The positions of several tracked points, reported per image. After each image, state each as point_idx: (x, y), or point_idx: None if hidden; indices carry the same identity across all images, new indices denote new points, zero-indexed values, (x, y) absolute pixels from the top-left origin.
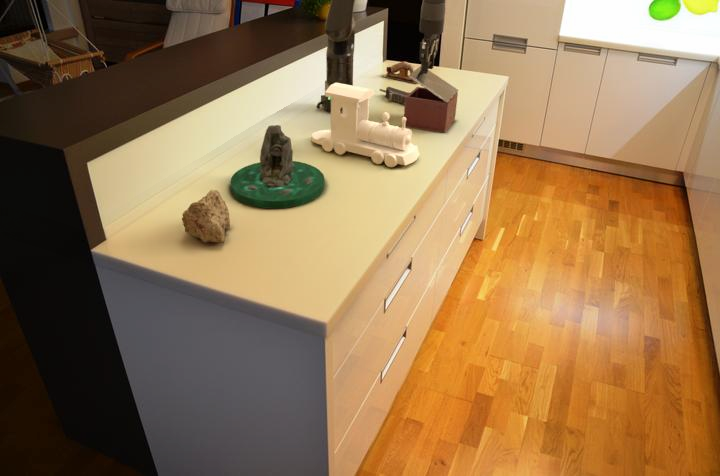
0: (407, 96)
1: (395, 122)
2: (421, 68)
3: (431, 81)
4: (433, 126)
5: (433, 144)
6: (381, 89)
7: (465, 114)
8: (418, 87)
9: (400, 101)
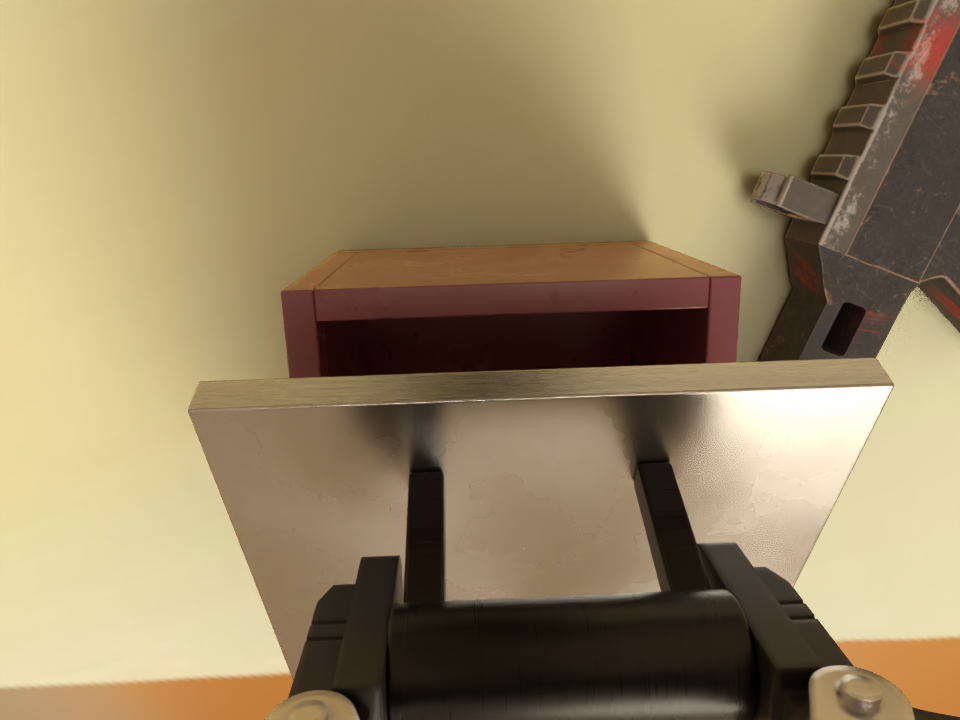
0: (316, 305)
1: (385, 157)
2: (355, 602)
3: (501, 595)
4: None
5: (112, 563)
6: None
7: (810, 578)
8: (715, 300)
9: (899, 2)
